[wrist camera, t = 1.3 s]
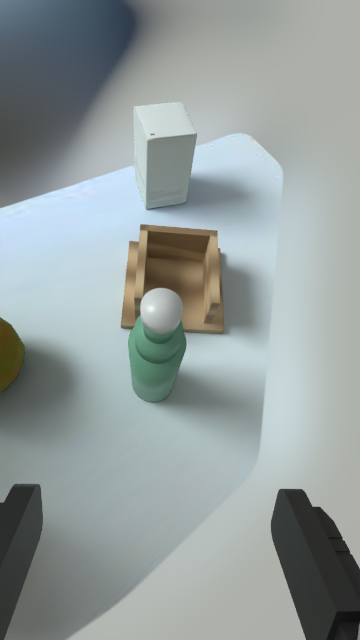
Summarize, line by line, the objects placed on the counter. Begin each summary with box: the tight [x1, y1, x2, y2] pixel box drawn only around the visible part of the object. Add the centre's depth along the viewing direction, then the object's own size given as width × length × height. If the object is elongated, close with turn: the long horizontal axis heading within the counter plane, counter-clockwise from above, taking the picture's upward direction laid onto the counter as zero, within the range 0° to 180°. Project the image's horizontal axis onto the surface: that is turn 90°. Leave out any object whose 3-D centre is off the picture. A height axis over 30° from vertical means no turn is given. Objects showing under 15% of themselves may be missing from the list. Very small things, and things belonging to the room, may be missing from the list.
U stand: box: [121, 224, 224, 334], centre depth 45 cm, size 14×14×7 cm
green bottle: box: [128, 288, 186, 402], centre depth 33 cm, size 5×5×21 cm
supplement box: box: [134, 102, 197, 209], centre depth 50 cm, size 7×7×13 cm
